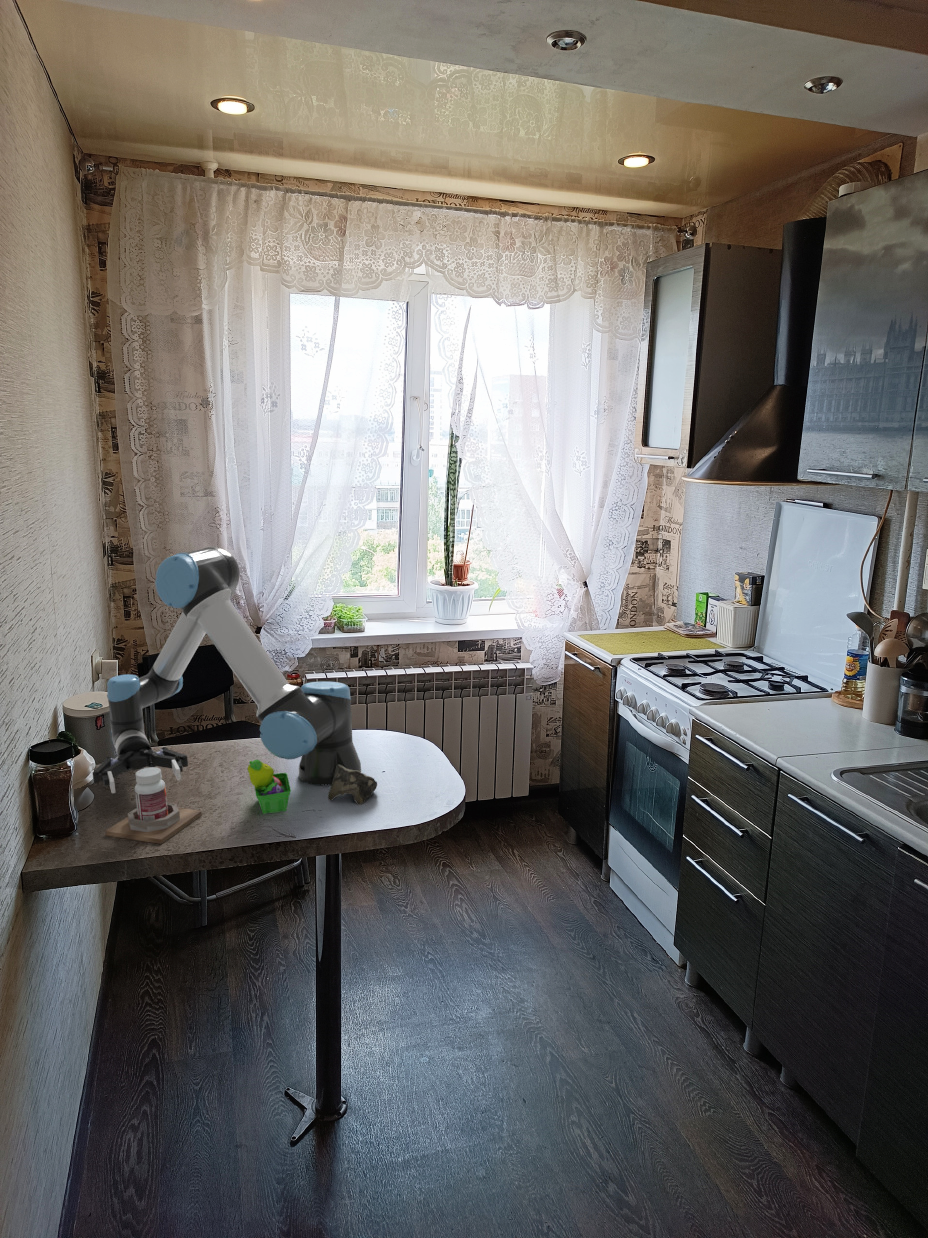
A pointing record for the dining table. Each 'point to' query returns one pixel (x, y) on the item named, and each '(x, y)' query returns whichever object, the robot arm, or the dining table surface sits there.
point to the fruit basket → (269, 787)
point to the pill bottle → (150, 794)
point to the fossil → (351, 784)
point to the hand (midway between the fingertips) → (146, 781)
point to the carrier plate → (154, 834)
